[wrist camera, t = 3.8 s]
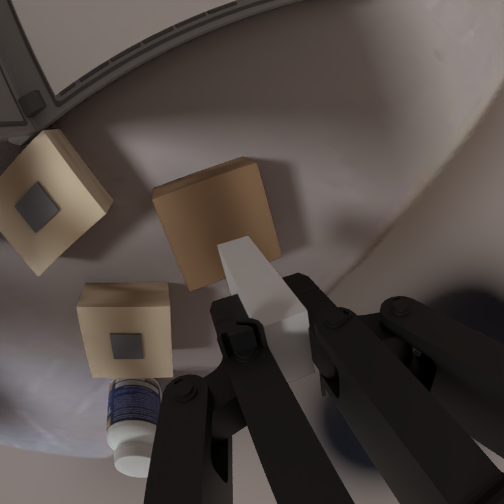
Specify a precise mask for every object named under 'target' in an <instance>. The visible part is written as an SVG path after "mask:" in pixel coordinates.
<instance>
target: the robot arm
mask: <svg viewBox="0 0 504 504" xmlns="http://www.w3.org/2000/svg"><path fill="white" fill-rule="evenodd" d="M217 247H218V250H219V254H220V258H221V261H222V265H223V268H224V272H225V276H226V279H227V283H228V286H229V290H230V293H231V296H229V297H225V298H222V299H219V300H216V301H213V302H212V305H211V308H210V313H211V316H212V320H213V323H214V326H215V329H216V333H217V341H218V344H219V346H220V349H221V352H222V355H223V358H222V361H221V363H220V365H219V366H218V367H217V369H216V370H214V371H213V372H212V373H210V374H209V375H207V376H205V377H204V378H202V377H200V376H197V375H184V376H180V377H178V378H176V379H174V380H172V381H171V382H170V383H169V384H168V385H167V386H166V388H165V390H164V392H163V395H162V400H161V405H160V410H159V416H158V421H157V426H156V431H155V437H154V442H153V448H152V454H151V460H150V465H149V472H148V478H147V484H146V491H145V497H144V504H233V484H232V435H233V434H235V433H236V432H238V431H239V430H241V429H242V428H244V427H246V426H248V429H249V432H250V435H251V437H252V440H253V443H254V445H255V448H256V450H257V453H258V456H259V458H260V461H261V464H262V466H263V469H264V471H265V474H266V477H267V479H268V481H269V484H270V486H271V489H272V492H273V494H274V496H275V499H276V501H277V504H355V503H354V502H353V500H352V498H351V497H350V495H349V493H348V491H347V490H346V488H345V486H344V484H343V483H342V481H341V479H340V477H339V476H338V474H337V472H336V470H335V468H334V467H333V465H332V463H331V461H330V460H329V458H328V456H327V454H326V452H325V451H324V449H323V447H322V445H321V443H320V442H319V440H318V438H317V436H316V435H315V433H314V431H313V429H312V427H311V425H310V424H309V422H308V420H307V418H306V416H305V414H304V413H303V411H302V409H301V407H300V405H299V403H298V402H297V400H296V398H295V396H294V394H293V392H292V390H291V388H290V387H289V385H288V383H289V382H292V381H294V380H297V379H299V378H302V377H305V376H307V375H310V374H312V373H314V372H315V370H314V363H315V365H316V366H317V368H318V369H319V372H320V382H321V392H322V395H323V396H325V395H326V391H325V389H326V390H327V392H328V393H329V395H330V397H331V398H332V400H333V401H334V403H335V405H336V406H337V407H338V409H339V411H340V412H341V414H342V415H343V417H344V419H345V420H346V422H347V423H348V425H349V426H350V428H351V429H352V431H353V432H354V434H355V436H356V437H357V439H358V440H359V442H360V443H361V445H362V446H363V448H364V449H365V451H366V452H367V454H368V455H369V457H370V459H371V460H372V462H373V463H374V465H375V466H376V468H377V469H378V471H379V473H380V474H381V476H382V477H383V479H384V480H385V482H386V483H387V485H388V486H389V488H390V489H391V491H392V492H393V493H394V495H395V497H396V498H397V500H398V501H399V503H400V504H504V473H503V472H501V471H500V470H499V469H498V468H497V467H496V466H495V465H494V463H493V462H492V461H491V460H490V459H489V458H488V456H486V454H485V453H484V452H483V451H482V450H481V448H480V447H479V446H478V445H477V444H476V443H475V442H474V440H473V439H475V440H476V441H478V442H480V443H481V444H482V445H484V446H485V447H487V448H488V449H490V450H492V451H493V452H495V453H496V454H497V455H499V456H501V457H502V458H504V345H502V344H500V343H499V342H497V341H495V340H493V339H491V338H489V337H487V336H485V335H483V334H481V333H479V332H477V331H475V330H474V329H471V328H470V327H468V326H465V325H464V324H462V323H460V322H458V321H456V320H454V319H452V318H450V317H448V316H446V315H444V314H442V313H440V312H438V311H436V310H434V309H432V308H430V307H428V306H426V305H424V304H422V303H420V302H418V301H416V300H414V299H412V298H408V297H404V296H397V297H391V298H389V299H387V300H385V301H384V302H383V303H382V305H381V308H380V312H379V313H374V314H368V315H360V316H358V315H356V314H355V313H354V312H352V311H351V310H349V309H346V308H342V307H336V305H335V304H334V303H333V302H332V301H331V300H330V299H329V298H328V297H327V296H326V295H325V294H324V293H323V292H322V290H320V288H319V287H318V286H317V285H316V284H315V283H314V282H313V281H312V280H311V279H310V278H309V277H308V276H306V275H303V274H301V273H295V274H292V275H289V276H286V277H283V278H281V277H280V275H279V274H278V273H277V272H276V270H275V269H274V268H273V266H272V265H271V264H270V263H269V261H268V260H267V259H266V258H265V256H264V255H263V254H262V253H261V251H260V250H259V249H258V248H257V246H256V245H255V244H254V242H253V241H252V240H251V239H250V237H249V236H245V237H242V238H239V239H235V240H232V241H229V242H225V243H222V244H219V245H217ZM415 349H417V350H419V351H420V352H422V353H418V352H416V351H414V350H415ZM471 437H472V438H473V439H472V438H471Z"/></svg>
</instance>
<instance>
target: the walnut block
mask: <svg viewBox="0 0 504 504" xmlns="http://www.w3.org/2000/svg"><path fill="white" fill-rule="evenodd" d="M152 201H153V204H154V206H155V209H156V211H157V214H158V216H159V219H160V222H161V224H162V227H163V229H164V232H165V234H166V236H167V239H168V241H169V244H170V246H171V249H172V251H173V253H174V256H175V258H176V261H177V263H178V265H179V268H180V270H181V272H182V275H183V277H184V279H185V282H186V284H187V286H188V288H189V291H190V292H191V291H193V290H196V289H199V288H201V287H204V286H206V285H209V284H212V283H214V282H217V281H219V280H222V279H225V278H226V276H225V272H224V268H223V265H222V261H221V258H220V254H219V250H218V247H217V245H219V244H222V243H225V242H229V241H232V240H235V239H239V238H242V237H245V236H249V237H250V239H251V240H252V241H253V242H254V244H255V245H256V246H257V248H258V249H259V250H260V251H261V253H262V254H263V255H264V256H265V258H266V259H267V260H268V261H271V260H274V259H276V258H279V257H281V256H282V254H281V250H280V246H279V243H278V239H277V235H276V231H275V227H274V224H273V220H272V216H271V212H270V208H269V205H268V201H267V197H266V194H265V190H264V186H263V183H262V179H261V175H260V172H259V168H258V165H257V162H255V161H252V160H250V159H247V158H245V157H240V158H237V159H234V160H231V161H228V162H225V163H222V164H219V165H216V166H213V167H210V168H207V169H204V170H201V171H198V172H196V173H193V174H190V175H187V176H185V177H182V178H179V179H176V180H174V181H171V182H168V183H166V184H163V185H161V186H158V187H155V188H153V195H152Z"/></svg>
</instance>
